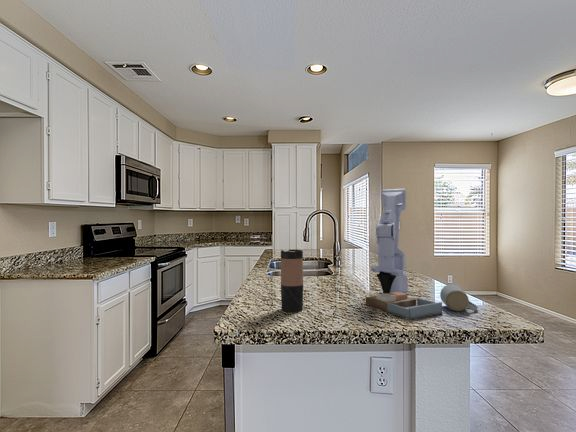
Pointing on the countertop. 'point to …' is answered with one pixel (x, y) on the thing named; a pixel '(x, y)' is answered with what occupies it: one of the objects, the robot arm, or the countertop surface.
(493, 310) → the countertop surface
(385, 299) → the cream tile
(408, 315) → the tray
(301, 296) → the travel mug
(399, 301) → the walnut board
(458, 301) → the ceramic mug
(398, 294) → the terracotta tile
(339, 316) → the countertop surface
